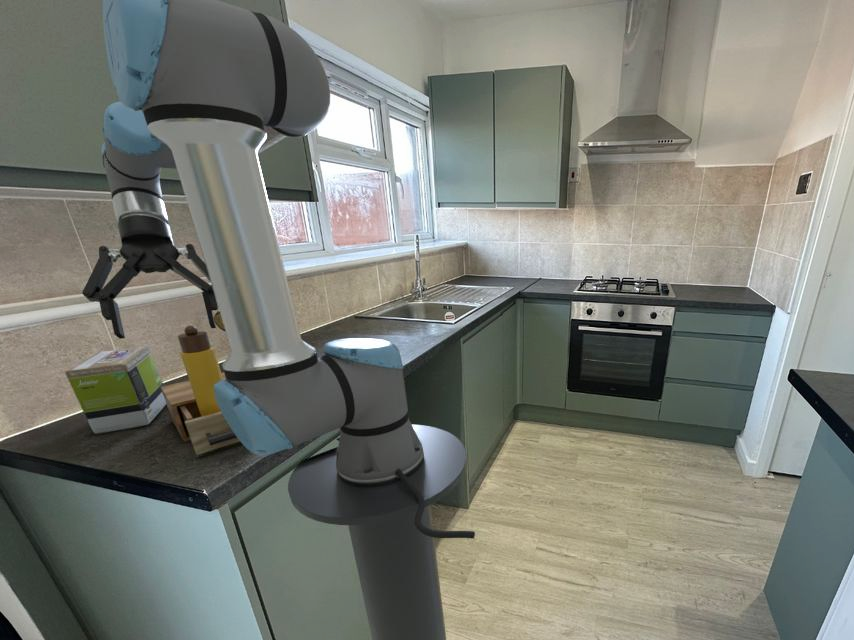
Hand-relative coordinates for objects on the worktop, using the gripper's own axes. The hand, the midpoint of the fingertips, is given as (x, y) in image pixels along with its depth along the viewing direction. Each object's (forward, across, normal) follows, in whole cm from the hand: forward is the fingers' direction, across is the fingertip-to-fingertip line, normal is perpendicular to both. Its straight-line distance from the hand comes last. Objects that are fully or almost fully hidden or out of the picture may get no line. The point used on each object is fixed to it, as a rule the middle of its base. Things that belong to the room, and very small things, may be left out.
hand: (168, 331), depth 76 cm
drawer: (+20, -4, -8) cm, 22 cm away
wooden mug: (-2, -11, -50) cm, 52 cm away
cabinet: (+15, -2, -19) cm, 25 cm away
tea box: (+8, +14, -32) cm, 36 cm away
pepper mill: (+19, -4, -9) cm, 21 cm away
